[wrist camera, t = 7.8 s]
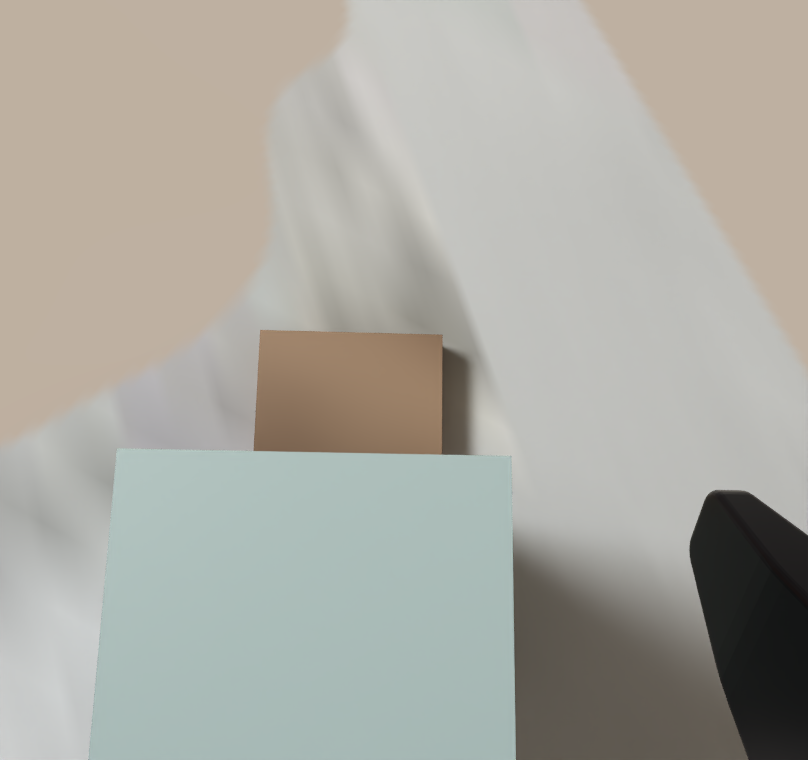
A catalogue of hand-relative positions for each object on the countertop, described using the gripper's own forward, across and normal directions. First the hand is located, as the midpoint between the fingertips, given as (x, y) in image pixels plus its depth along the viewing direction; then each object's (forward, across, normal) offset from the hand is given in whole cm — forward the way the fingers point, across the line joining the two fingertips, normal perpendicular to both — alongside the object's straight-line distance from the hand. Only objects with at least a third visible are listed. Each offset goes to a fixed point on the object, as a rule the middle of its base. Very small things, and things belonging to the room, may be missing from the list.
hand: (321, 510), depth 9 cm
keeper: (+6, 0, +8) cm, 9 cm away
